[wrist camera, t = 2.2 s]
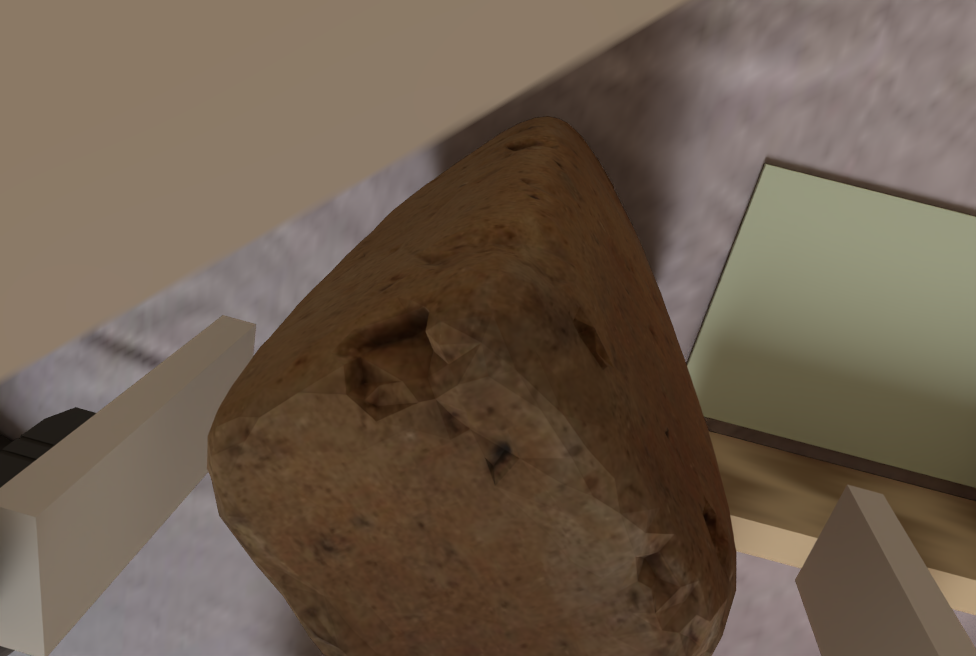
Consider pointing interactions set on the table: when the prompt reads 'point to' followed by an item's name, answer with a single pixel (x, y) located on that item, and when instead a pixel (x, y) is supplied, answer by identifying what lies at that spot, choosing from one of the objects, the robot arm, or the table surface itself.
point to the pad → (847, 326)
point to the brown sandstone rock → (484, 431)
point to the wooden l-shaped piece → (813, 496)
